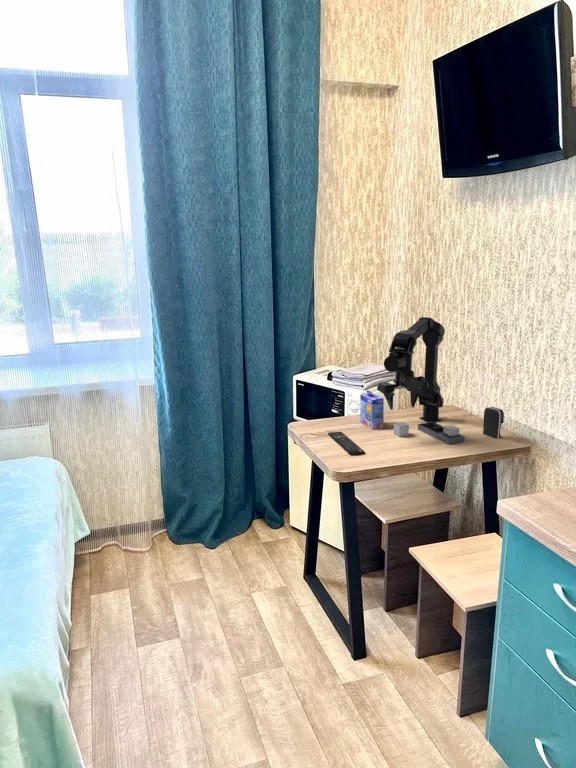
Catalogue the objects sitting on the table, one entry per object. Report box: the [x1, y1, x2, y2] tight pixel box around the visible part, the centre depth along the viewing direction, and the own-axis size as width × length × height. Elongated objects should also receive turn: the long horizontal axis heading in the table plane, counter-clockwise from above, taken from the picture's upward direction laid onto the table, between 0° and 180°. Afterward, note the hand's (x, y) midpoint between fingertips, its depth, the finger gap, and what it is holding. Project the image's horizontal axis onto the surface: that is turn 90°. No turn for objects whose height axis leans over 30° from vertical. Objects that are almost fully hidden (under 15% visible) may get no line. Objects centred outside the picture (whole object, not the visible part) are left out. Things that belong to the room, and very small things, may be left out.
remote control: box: [327, 431, 366, 457], centre depth 209 cm, size 5×24×1 cm, turn 15°
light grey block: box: [443, 424, 460, 438], centre depth 209 cm, size 4×4×5 cm
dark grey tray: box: [417, 421, 466, 446], centre depth 215 cm, size 19×7×3 cm, turn 22°
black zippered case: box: [482, 406, 505, 439], centre depth 213 cm, size 7×4×11 cm, turn 30°
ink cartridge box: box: [359, 389, 385, 430], centre depth 229 cm, size 10×6×14 cm, turn 23°
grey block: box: [393, 421, 410, 438], centre depth 216 cm, size 4×4×5 cm
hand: (402, 408), depth 214 cm, fingers open, 9 cm apart
